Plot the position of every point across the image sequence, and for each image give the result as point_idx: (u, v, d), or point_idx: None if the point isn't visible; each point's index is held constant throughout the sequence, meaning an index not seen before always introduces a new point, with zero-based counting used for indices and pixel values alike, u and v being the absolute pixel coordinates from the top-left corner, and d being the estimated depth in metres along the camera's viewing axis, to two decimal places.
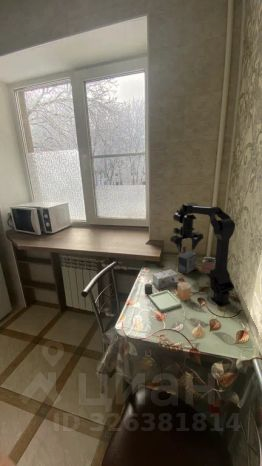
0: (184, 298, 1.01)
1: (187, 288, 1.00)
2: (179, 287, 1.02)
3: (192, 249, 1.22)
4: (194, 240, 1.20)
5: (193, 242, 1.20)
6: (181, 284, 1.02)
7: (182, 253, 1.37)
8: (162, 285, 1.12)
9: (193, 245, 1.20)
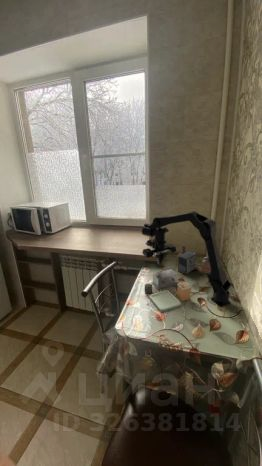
0: (184, 298, 1.01)
1: (187, 288, 1.00)
2: (179, 287, 1.02)
3: (159, 263, 1.19)
4: (160, 254, 1.17)
5: None
6: (181, 284, 1.02)
7: (182, 253, 1.37)
8: (162, 285, 1.12)
9: None
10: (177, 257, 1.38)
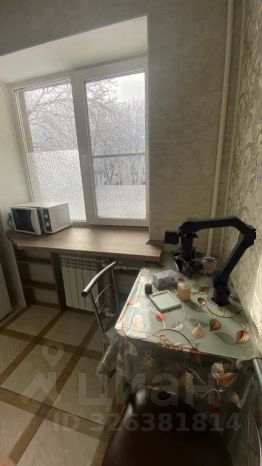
0: (184, 298, 1.01)
1: (187, 288, 1.00)
2: (179, 287, 1.02)
3: (189, 278, 0.97)
4: None
5: None
6: (181, 284, 1.02)
7: None
8: (162, 285, 1.12)
9: None
10: None
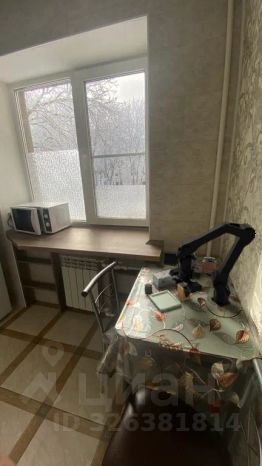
0: (184, 298, 1.01)
1: None
2: (179, 287, 1.02)
3: None
4: None
5: None
6: (181, 284, 1.02)
7: None
8: (162, 285, 1.12)
9: None
10: None
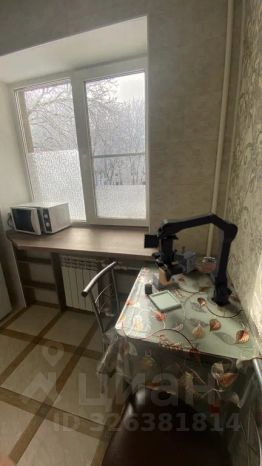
0: (165, 282, 0.95)
1: None
2: (160, 271, 0.96)
3: None
4: None
5: None
6: (162, 267, 0.96)
7: None
8: (162, 285, 1.12)
9: None
10: None
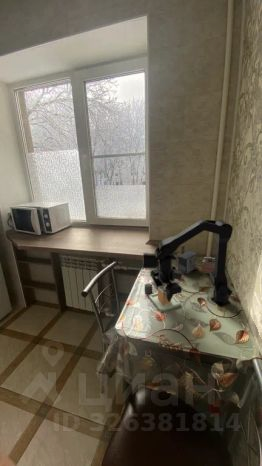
0: (164, 301, 0.98)
1: None
2: (159, 290, 0.99)
3: None
4: None
5: None
6: (161, 287, 0.99)
7: (181, 253, 1.38)
8: None
9: None
10: None
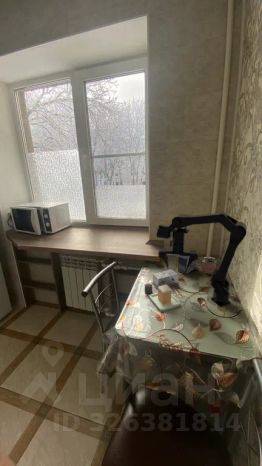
0: (164, 301, 0.98)
1: (167, 291, 0.97)
2: (159, 290, 0.99)
3: (186, 269, 1.05)
4: (188, 259, 1.02)
5: (187, 261, 1.03)
6: (161, 287, 0.99)
7: None
8: None
9: None
10: (176, 257, 1.39)
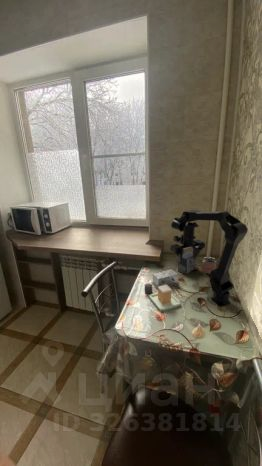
0: (164, 301, 0.98)
1: (167, 291, 0.97)
2: (159, 290, 0.99)
3: (193, 258, 1.15)
4: (195, 249, 1.13)
5: (194, 251, 1.14)
6: (161, 287, 0.99)
7: None
8: None
9: (194, 254, 1.14)
10: (176, 257, 1.39)
